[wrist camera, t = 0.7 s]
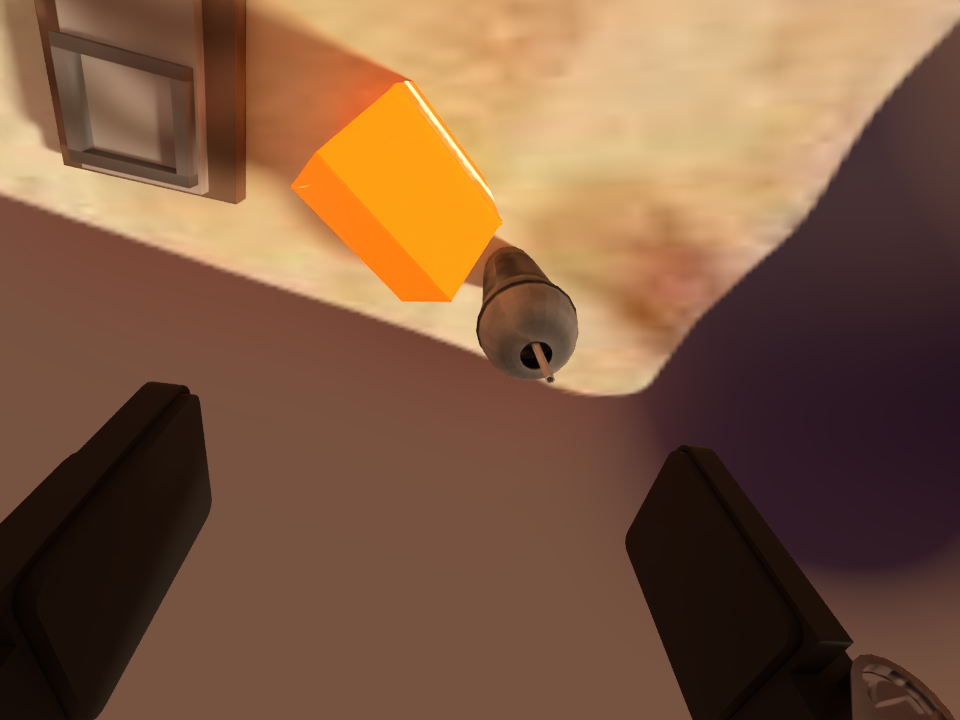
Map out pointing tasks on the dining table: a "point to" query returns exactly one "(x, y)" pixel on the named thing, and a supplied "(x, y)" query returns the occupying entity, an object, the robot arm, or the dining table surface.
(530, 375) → the beverage cup
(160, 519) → the robot arm
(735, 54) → the dining table surface
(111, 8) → the rail board
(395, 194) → the orange juice
